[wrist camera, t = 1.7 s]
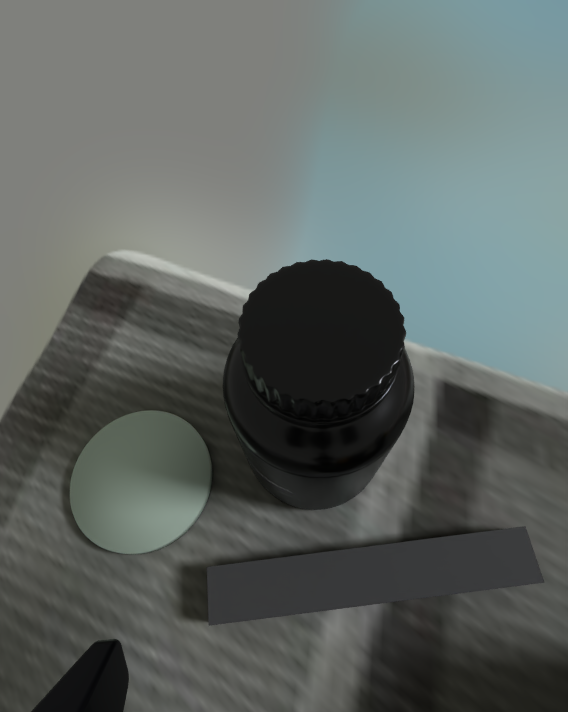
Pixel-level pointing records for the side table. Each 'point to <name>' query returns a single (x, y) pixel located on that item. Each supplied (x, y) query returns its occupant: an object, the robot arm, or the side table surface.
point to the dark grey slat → (371, 575)
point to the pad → (141, 482)
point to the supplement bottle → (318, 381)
